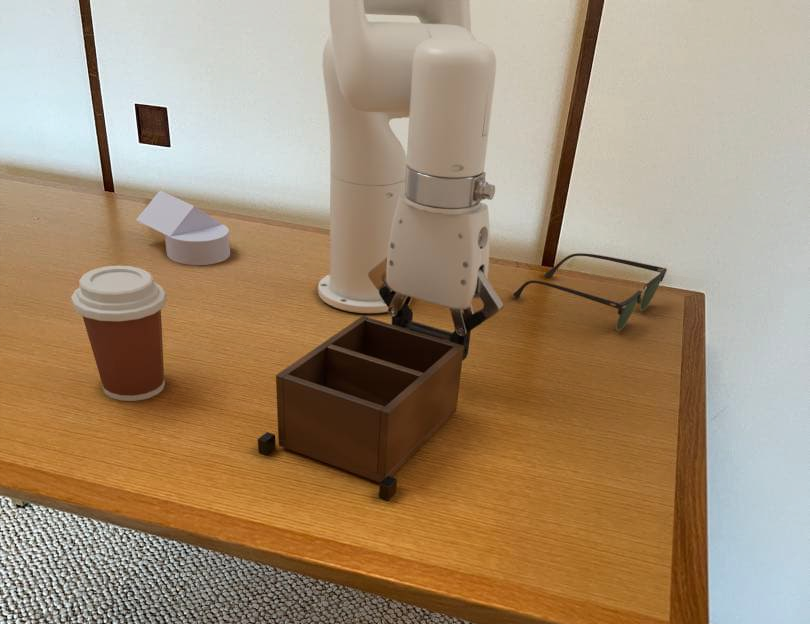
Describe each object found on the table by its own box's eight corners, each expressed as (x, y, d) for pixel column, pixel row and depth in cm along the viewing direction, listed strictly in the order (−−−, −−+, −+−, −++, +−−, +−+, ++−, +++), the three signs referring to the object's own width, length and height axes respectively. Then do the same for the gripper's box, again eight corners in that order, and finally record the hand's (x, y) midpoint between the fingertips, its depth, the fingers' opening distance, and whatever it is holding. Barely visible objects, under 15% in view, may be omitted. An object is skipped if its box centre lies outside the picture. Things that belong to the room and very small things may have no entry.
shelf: (383, 362, 95) (387, 298, 90) (476, 391, 91) (485, 326, 86) (278, 445, 80) (275, 374, 75) (384, 484, 76) (388, 412, 71)
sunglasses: (553, 270, 122) (560, 237, 119) (661, 302, 116) (670, 267, 112) (501, 304, 111) (507, 268, 108) (616, 341, 105) (625, 304, 102)
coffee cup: (77, 378, 89) (53, 271, 81) (156, 359, 93) (141, 255, 86) (109, 416, 83) (87, 304, 76) (191, 393, 88) (179, 285, 80)
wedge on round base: (139, 243, 120) (190, 270, 114) (132, 195, 116) (185, 221, 109) (190, 230, 125) (242, 255, 119) (186, 185, 121) (239, 208, 115)
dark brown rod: (267, 445, 81) (267, 431, 80) (396, 492, 76) (397, 478, 75) (258, 452, 80) (257, 438, 79) (388, 501, 75) (388, 487, 74)
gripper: (539, 195, 79) (512, 363, 91) (384, 162, 85) (377, 323, 96) (510, 215, 74) (485, 390, 85) (347, 178, 80) (344, 347, 91)
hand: (428, 353), depth 91 cm, fingers closed on shelf, 6 cm apart
